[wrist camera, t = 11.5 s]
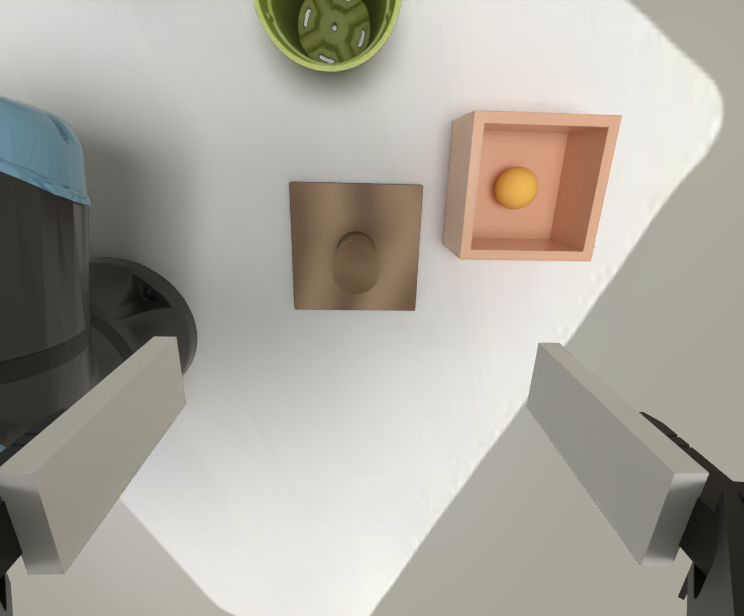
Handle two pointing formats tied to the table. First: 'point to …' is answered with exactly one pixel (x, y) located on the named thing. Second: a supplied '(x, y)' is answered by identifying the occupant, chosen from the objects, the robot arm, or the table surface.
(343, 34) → the plant pot
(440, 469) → the table surface
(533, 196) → the clementine
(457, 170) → the pink open box
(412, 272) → the lid
